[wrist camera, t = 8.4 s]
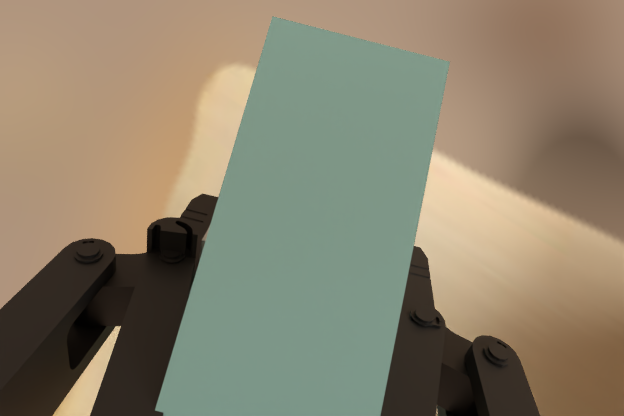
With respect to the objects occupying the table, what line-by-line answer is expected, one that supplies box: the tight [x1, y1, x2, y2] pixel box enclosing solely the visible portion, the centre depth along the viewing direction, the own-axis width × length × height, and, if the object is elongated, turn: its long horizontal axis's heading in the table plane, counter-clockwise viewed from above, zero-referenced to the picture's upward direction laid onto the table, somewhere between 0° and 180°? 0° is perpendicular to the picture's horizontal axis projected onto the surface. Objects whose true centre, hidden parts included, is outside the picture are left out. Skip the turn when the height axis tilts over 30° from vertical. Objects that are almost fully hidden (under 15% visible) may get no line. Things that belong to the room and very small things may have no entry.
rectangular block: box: [155, 17, 450, 416], centre depth 16 cm, size 4×10×14 cm, turn 166°
